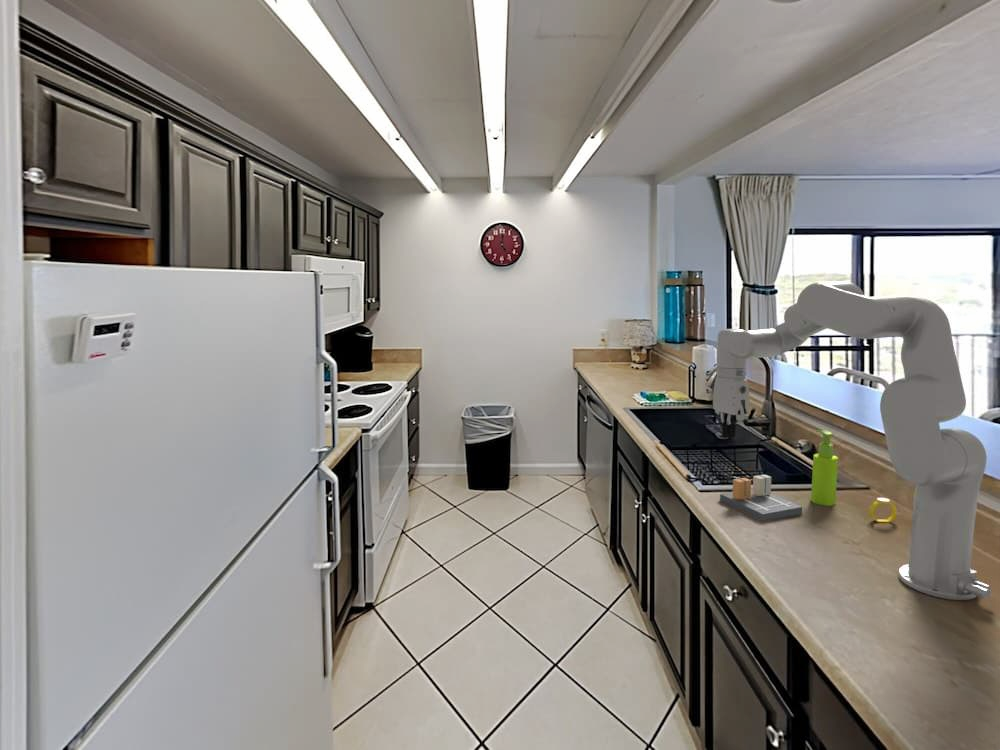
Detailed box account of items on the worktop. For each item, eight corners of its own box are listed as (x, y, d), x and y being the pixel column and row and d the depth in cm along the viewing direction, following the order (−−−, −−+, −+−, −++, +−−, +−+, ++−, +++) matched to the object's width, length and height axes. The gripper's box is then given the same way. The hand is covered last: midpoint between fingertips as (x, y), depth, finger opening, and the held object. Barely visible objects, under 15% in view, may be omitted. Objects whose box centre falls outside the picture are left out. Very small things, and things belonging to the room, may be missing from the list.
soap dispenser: (827, 496, 159) (831, 428, 156) (839, 505, 152) (843, 434, 149) (805, 496, 160) (809, 428, 157) (816, 505, 153) (820, 434, 150)
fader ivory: (770, 494, 156) (771, 476, 155) (759, 496, 155) (759, 478, 154) (764, 491, 158) (764, 474, 158) (752, 493, 157) (753, 475, 156)
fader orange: (750, 497, 154) (751, 479, 153) (738, 499, 152) (739, 481, 152) (744, 494, 156) (744, 477, 155) (732, 496, 155) (732, 479, 154)
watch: (873, 524, 140) (873, 502, 139) (867, 520, 143) (867, 498, 142) (898, 523, 140) (898, 500, 139) (891, 518, 142) (891, 496, 142)
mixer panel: (802, 514, 147) (802, 506, 147) (762, 521, 143) (762, 513, 143) (756, 494, 162) (757, 487, 162) (720, 500, 158) (720, 493, 158)
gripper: (761, 376, 150) (758, 442, 152) (723, 369, 164) (721, 429, 166) (739, 378, 147) (736, 445, 150) (702, 370, 161) (700, 432, 164)
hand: (728, 436), depth 158 cm, fingers closed
